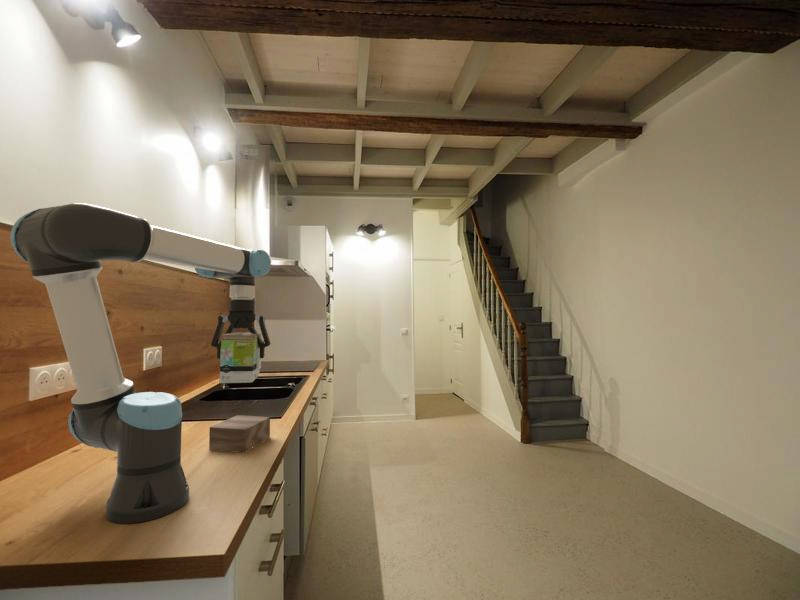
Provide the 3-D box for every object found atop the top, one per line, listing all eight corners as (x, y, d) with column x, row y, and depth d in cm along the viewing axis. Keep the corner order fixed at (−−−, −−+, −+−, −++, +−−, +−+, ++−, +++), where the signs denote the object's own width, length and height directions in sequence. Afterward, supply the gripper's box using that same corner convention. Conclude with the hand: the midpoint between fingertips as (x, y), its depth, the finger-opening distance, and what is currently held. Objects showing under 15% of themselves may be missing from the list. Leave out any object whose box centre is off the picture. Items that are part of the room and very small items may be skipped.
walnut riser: (245, 453, 117) (245, 429, 117) (209, 450, 119) (209, 427, 119) (269, 438, 131) (269, 417, 131) (237, 436, 133) (237, 415, 133)
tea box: (254, 383, 119) (255, 334, 120) (218, 384, 117) (219, 334, 118) (260, 375, 134) (261, 331, 135) (228, 376, 132) (229, 331, 132)
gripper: (280, 300, 132) (279, 366, 131) (208, 299, 129) (207, 367, 128) (276, 299, 124) (275, 370, 123) (200, 298, 121) (198, 371, 121)
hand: (240, 368), depth 126 cm, fingers closed on tea box, 10 cm apart
